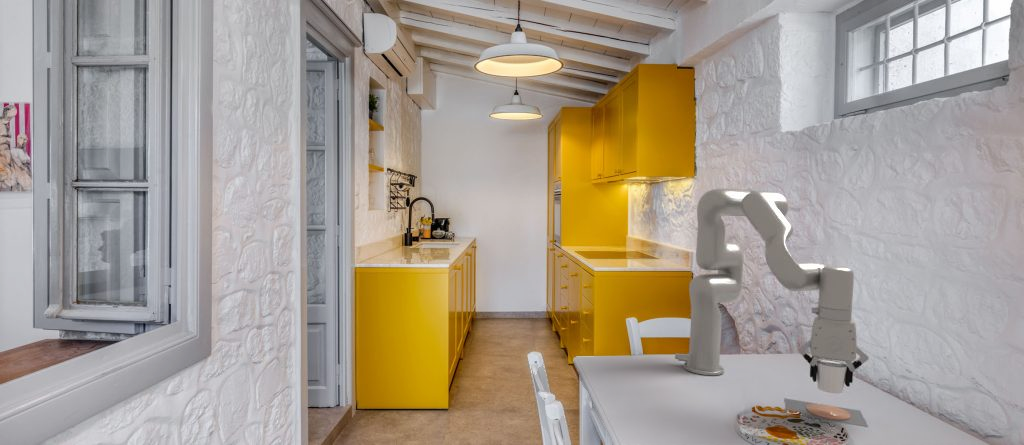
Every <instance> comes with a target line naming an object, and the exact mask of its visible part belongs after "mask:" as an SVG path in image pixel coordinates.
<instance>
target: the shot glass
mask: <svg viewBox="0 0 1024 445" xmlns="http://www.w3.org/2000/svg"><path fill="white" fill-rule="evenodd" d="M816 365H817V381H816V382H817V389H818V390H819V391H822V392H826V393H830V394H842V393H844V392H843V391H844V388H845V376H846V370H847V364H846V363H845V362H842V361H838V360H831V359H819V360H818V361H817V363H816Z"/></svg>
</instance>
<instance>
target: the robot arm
mask: <svg viewBox="0 0 1024 445" xmlns="http://www.w3.org/2000/svg"><path fill="white" fill-rule="evenodd" d="M788 210H789V203H788V200H787V199H786V197H785V196H784V195H783V194H781V193H779V192H777V191H776V192H775V191H765V190H764V191H763V190H759V191H758V190H750V189H749V190H748V189H736V188H735V189H733V188H714V189H711V190H707V192H704V194H703V195H702V196H701V197H700V199H699V200H698V203H697V207H696V217H697V218H696V219H697V232H696V233H697V235H696V251H695V252H696V253H695V254H696V255H695V261H696V264H697V266H698V267H699V268H700V269H702V270H706V271H717V273H703V274H699V275H696V276H695V277H692V279H691V280H690V282H689V285H688V286H689V287H688V289H689V292H688V293H689V297H690V330H689V332H690V333H689V352H688V353H685V354H683V353H677V352H676V353H675V354H674V359H675V360H677V361H679V362H684V363H683V368H684V369H685V370H687V372H691V373H694V374H698V375H702V376H703V375H704V376H720V375H723V374H724V372H725V368H724V366H722V365H720V357H721V356H720V355H721V343H722V342H721V340H722V320H723V319H722V312H721V310H720V308H719V305H718V304H720V303H721V304H722V303H729V302H734V301H736V300H737V299H738V298H739V296H740V294H741V291H742V284H743V270H744V254H743V250H742V249H741V247H740V246H739V245H738V244H737V243H735V242H734V241H729V240H726V226H725V222H724V220H723V218H722V217H724V216H728V217H745V218H746V219H747V220H748V221H749V223H750V224H751V226H752V227H753V228H754V230H755V232H756V233H757V234H758V236H759V237H760V238H761V240H762V241H763V242H764V255H765V260H766V264H767V266H768V268H769V270H770V272H771V273H772V274H773V276H774V277H775V279H776V280H777V281H778V282H779V284H781V286H783V287H784V288H785V289H787V290H789V291H792V292H803V291H804V292H806V291H818V301H817V302H818V303H817V304H818V305H817V306H816V307H812V308H811V314H815V315H816V317H814V320H813V323H812V328H811V332H810V339H809V340H808V341H806V342H805V343H803V344H801V345H800V346H798V347H797V351H798V352H799V354H800V355H801V356H802V357H803V358H804V360H806V362H807V363H808V364H809V365H810V366H809V367H810V368H809V378H812V381H813V382H814V383H815V382H817V361H818V360H820V359H822V360H832V361H838V362H844V363H845V364H846V365H847V370H846V376H845V381H844V386H845V387H848V388H849V387H851V386H850V384H852V383H853V380H854V379H853V376H854V372H856V369H858V368H859V367H861V366H862V365H863V364H864V363H866V362H867V361H868V360H870V359H869V356H868V355H867V354H866V353H865V352H864V351H862V349H860V348H859V347H858V346H857V328H856V322H855V321H853V320H852V314H853V313H852V312H853V299H854V297H853V296H854V295H853V294H854V280H855V279H854V278H855V274H854V271H853V270H852V269H851V268H849V267H845V266H837V265H827V264H824V263H820V262H814V261H813V262H797V261H796V260H795V258H794V257H793V256H792V254H791V253H790V251H789V250H788V248H787V245H786V241H787V240H789V239H790V238H791V237H792V235H793V233H794V227H793V225H791V223H790V222H789V221H788V220H787V217H785V216H786V215H788V214H787V213H788ZM808 349H809V350H810V354H811V356H810V355H809V354H808V353H807V351H806V350H808ZM857 355H858V356H859V358H858V359H857Z"/></svg>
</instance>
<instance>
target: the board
mask: <svg viewBox="0 0 1024 445" xmlns="http://www.w3.org/2000/svg"><path fill="white" fill-rule="evenodd" d="M810 404H818V403H815V402H809V401H804V400H798V399H797V400H796V399H790V398H784V405H785V411H786V410H794V411H797V412H801V414H802V415H800V416H801V417H806V418H811V419H812V418H813V419H818V420H823V421H829V422H835V423H842V424H847V425H852V426H857V427H864V428H869V425H868V424H867V421H866V419H865V418H864V416H863V414H862V412H861V410H859V409H858V410H857V409H852V408H847V407H839V406H837V407H838V408H841V409H843V410H845V411H847V412H849V413H850V415H851V418H850V419H848V420H831V419H826V418H822V417H819V416H816V415H814V414H812V413H810V412H809V411H807V405H810ZM833 406H834V407H836V406H835V405H833ZM800 416H799V417H800Z"/></svg>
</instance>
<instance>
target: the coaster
mask: <svg viewBox="0 0 1024 445" xmlns="http://www.w3.org/2000/svg"><path fill="white" fill-rule="evenodd" d="M834 406H835V405H829V404H824V403H823V404H822V403H817V404H810V405H807V411H809V412H810V413H812V414H814V415H816V416H819V417H822V418H826V419H831V420H848V419H850V418H851V415H850V413H849V412H847V411H845V410H843V409H841V408H842V407H841V408H838V407H839V406H835V407H834Z"/></svg>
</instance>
